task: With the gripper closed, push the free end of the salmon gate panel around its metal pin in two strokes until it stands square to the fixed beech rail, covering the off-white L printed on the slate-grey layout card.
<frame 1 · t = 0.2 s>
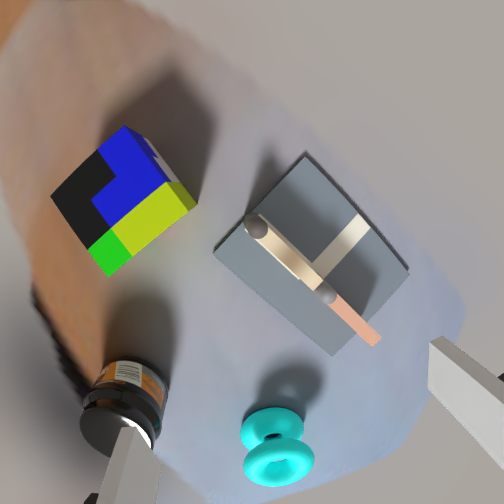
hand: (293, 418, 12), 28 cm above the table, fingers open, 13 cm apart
supplement container: (135, 382, 41), on the table
puzzle toy: (140, 197, 36), on the table
salmon gate panel: (343, 309, 37), point 5 cm above the table, hinge at 0.0°
layout card: (320, 264, 40), on the table
donuts: (270, 425, 45), on the table
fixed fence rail: (322, 265, 39), resting on layout card
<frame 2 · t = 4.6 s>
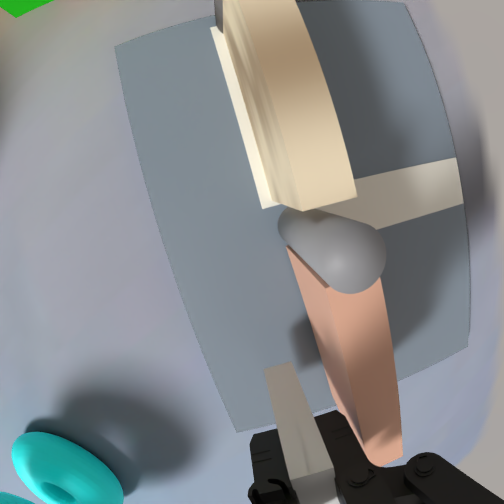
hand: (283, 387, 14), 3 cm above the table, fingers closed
salmon gate panel: (347, 342, 12), point 5 cm above the table, hinge at 4.2°, touching gripper
layout card: (331, 211, 15), on the table
donuts: (71, 465, 18), on the table
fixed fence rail: (336, 212, 14), resting on layout card
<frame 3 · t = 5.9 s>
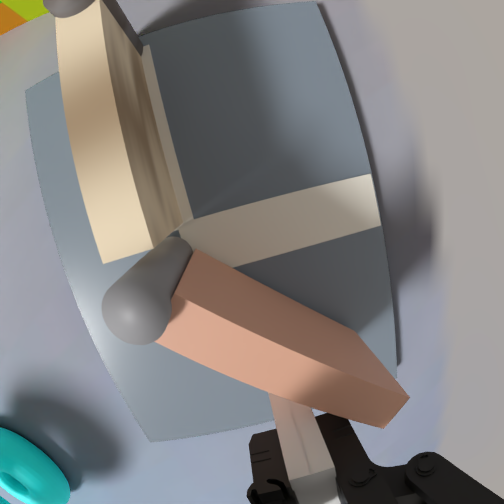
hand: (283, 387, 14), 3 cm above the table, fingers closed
salmon gate panel: (267, 332, 11), point 4 cm above the table, hinge at 45.3°, touching gripper
layout card: (217, 239, 15), on the table
donuts: (27, 459, 18), on the table
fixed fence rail: (216, 242, 14), resting on layout card
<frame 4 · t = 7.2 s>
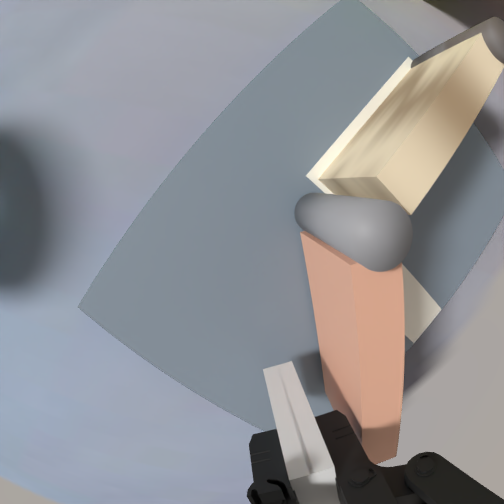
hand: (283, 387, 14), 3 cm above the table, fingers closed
salmon gate panel: (353, 333, 12), point 5 cm above the table, hinge at 52.5°, touching gripper
layout card: (336, 237, 15), on the table
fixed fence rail: (342, 239, 15), resting on layout card
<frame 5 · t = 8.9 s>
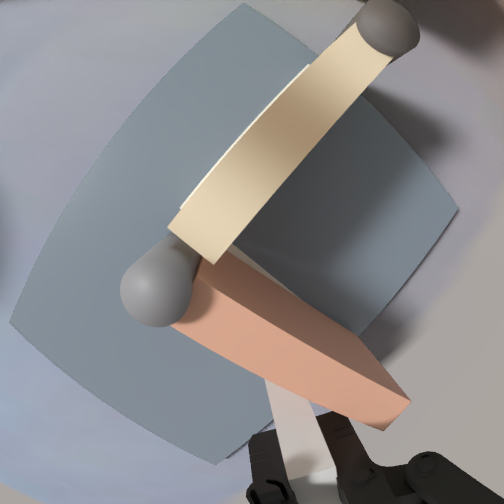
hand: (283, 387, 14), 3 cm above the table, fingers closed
salmon gate panel: (277, 327, 11), point 4 cm above the table, hinge at 95.3°, touching gripper
layout card: (221, 266, 15), on the table
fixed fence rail: (221, 270, 15), resting on layout card
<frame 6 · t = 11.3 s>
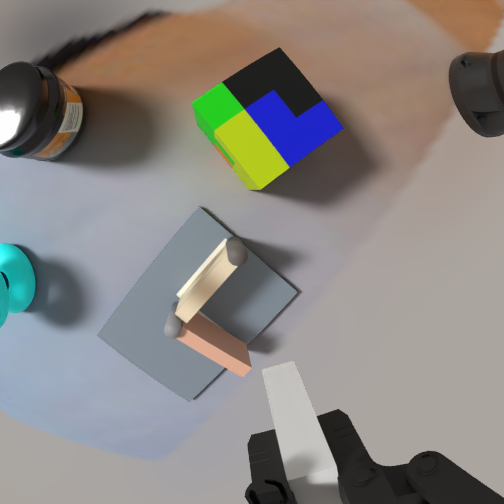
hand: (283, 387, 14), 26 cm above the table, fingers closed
supplement container: (55, 123, 33), on the table
puzzle toy: (256, 132, 36), on the table
salmon gate panel: (208, 339, 35), point 4 cm above the table, hinge at 95.5°
layout card: (192, 314, 39), on the table
donuts: (13, 275, 36), on the table
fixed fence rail: (191, 317, 39), resting on layout card
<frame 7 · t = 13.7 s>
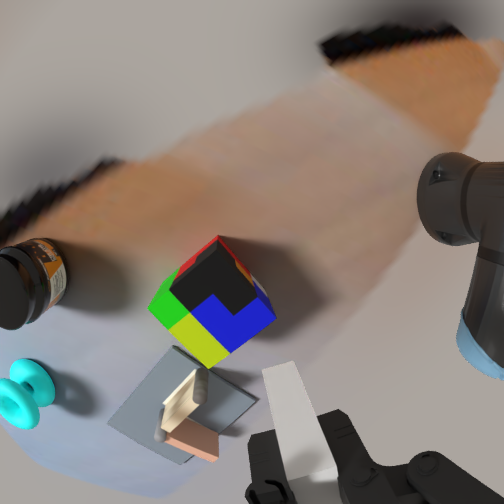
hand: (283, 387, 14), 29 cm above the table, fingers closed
supplement container: (44, 270, 41), on the table
puzzle toy: (213, 285, 43), on the table
salmon gate panel: (187, 436, 43), point 5 cm above the table, hinge at 95.5°
layout card: (176, 413, 47), on the table
donuts: (35, 379, 44), on the table
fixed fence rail: (175, 416, 46), resting on layout card
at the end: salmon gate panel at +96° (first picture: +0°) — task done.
